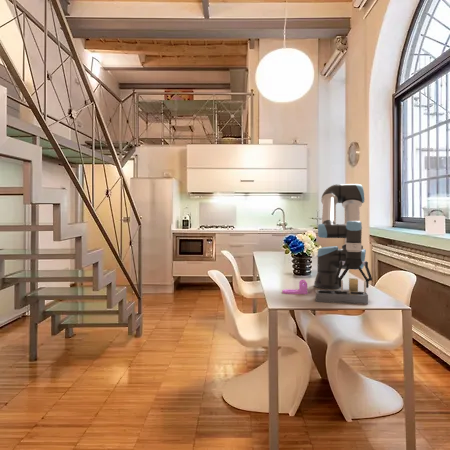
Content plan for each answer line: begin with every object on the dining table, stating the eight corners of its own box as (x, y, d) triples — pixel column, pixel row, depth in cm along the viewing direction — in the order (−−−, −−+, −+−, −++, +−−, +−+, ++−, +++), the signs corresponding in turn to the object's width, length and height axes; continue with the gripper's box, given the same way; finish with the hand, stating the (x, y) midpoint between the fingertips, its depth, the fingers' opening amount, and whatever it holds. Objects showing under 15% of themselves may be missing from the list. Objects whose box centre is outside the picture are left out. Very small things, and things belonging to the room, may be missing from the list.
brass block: (348, 295, 206) (349, 278, 205) (357, 295, 205) (357, 278, 205) (349, 297, 202) (349, 279, 201) (357, 297, 201) (358, 279, 201)
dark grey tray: (315, 297, 200) (315, 289, 200) (365, 299, 195) (365, 291, 195) (315, 301, 191) (315, 293, 191) (368, 304, 186) (368, 295, 186)
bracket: (306, 292, 215) (306, 279, 215) (307, 294, 209) (307, 281, 209) (282, 291, 216) (282, 279, 216) (282, 293, 211) (282, 280, 210)
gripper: (330, 251, 201) (330, 294, 202) (378, 252, 196) (378, 296, 197) (330, 249, 209) (329, 291, 209) (376, 250, 204) (376, 293, 204)
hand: (353, 293), depth 203 cm, fingers open, 11 cm apart
